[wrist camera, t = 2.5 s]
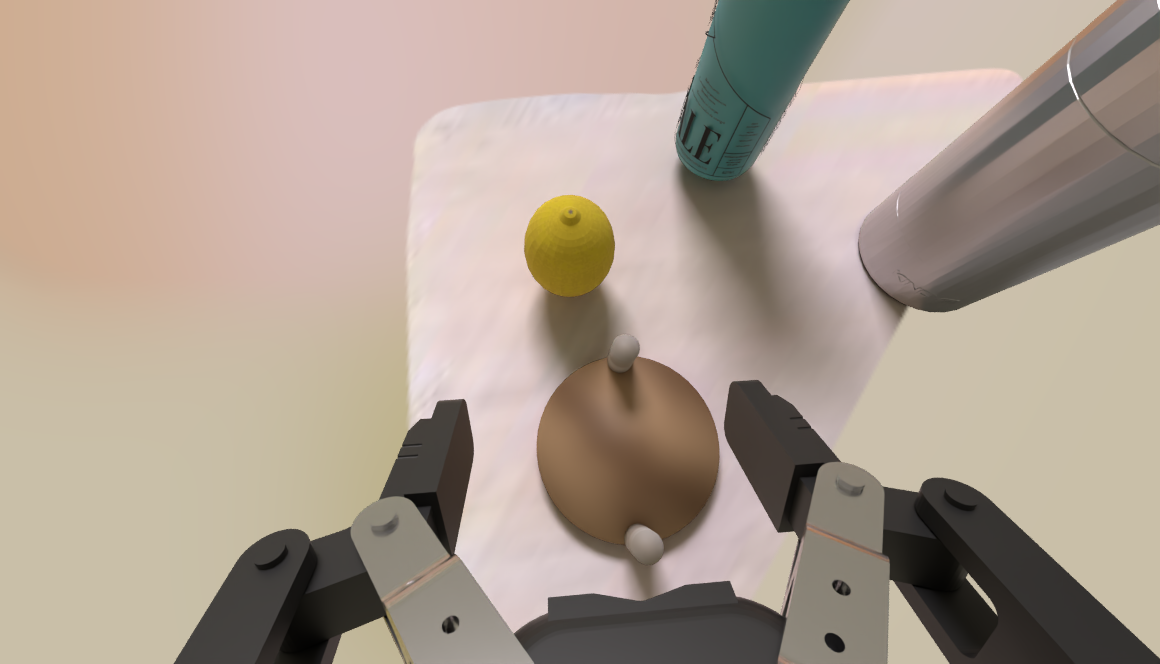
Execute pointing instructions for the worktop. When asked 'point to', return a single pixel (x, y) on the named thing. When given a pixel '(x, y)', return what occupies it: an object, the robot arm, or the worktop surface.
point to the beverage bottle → (748, 79)
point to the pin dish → (628, 450)
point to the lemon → (569, 245)
